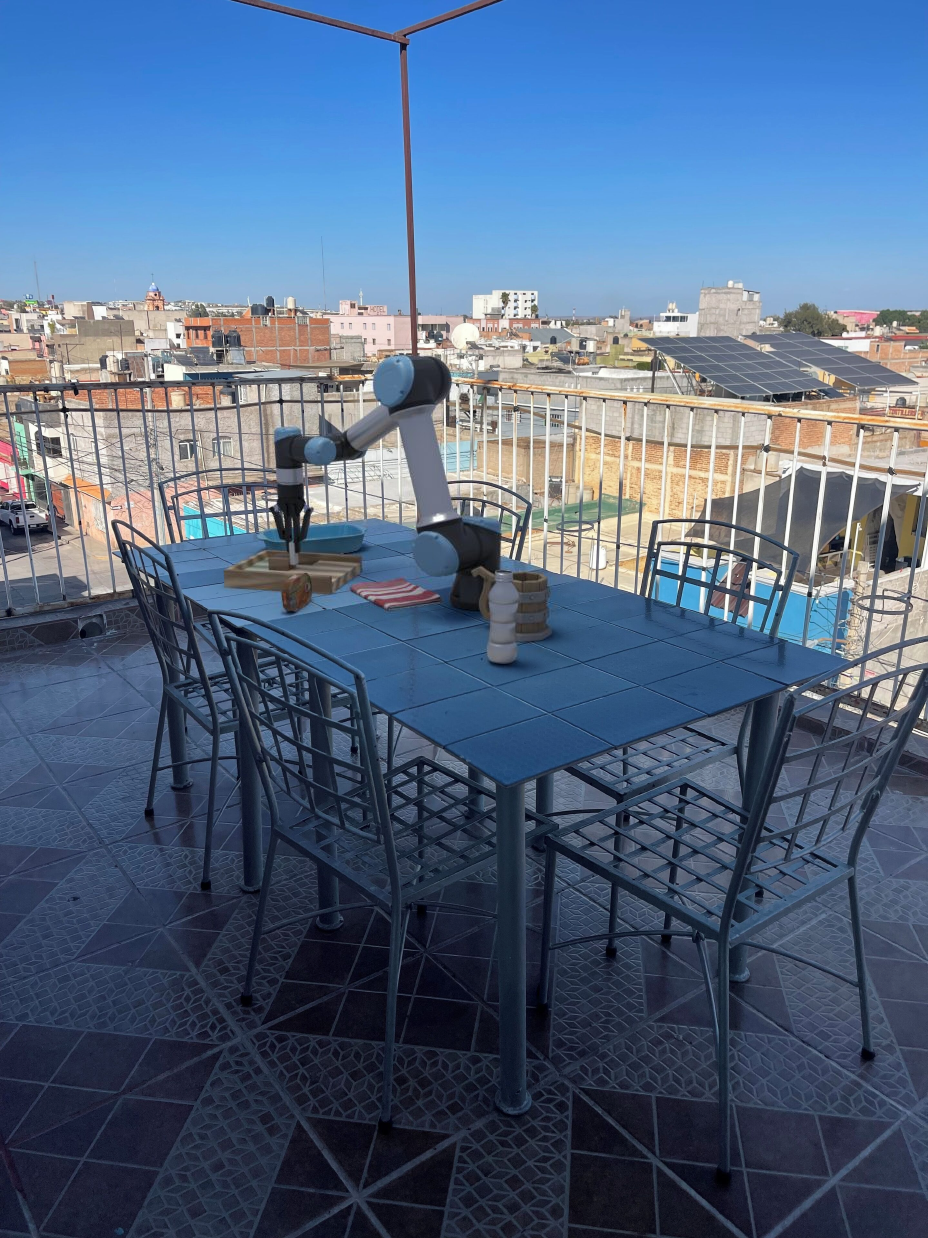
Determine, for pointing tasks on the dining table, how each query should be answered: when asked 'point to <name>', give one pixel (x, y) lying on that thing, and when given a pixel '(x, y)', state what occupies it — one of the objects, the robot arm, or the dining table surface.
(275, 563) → the walnut block
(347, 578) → the box
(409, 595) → the dish towel
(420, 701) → the dining table surface
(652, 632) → the dining table surface
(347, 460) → the robot arm
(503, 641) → the plastic bottle
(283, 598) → the tin
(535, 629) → the tankard
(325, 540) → the casserole dish
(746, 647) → the dining table surface
